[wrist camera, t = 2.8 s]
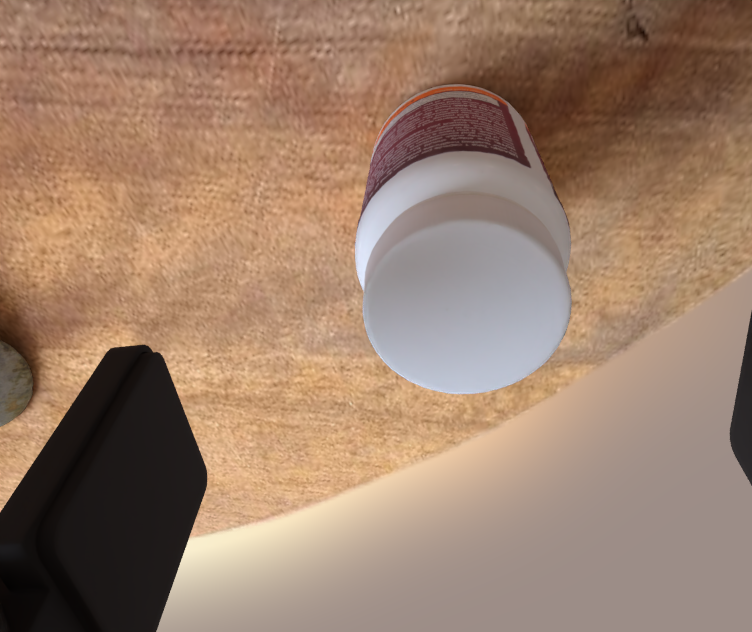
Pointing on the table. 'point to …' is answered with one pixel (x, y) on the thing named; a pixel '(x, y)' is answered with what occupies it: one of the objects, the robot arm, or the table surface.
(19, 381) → the soupspoon
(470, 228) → the pill bottle
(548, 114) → the table surface
